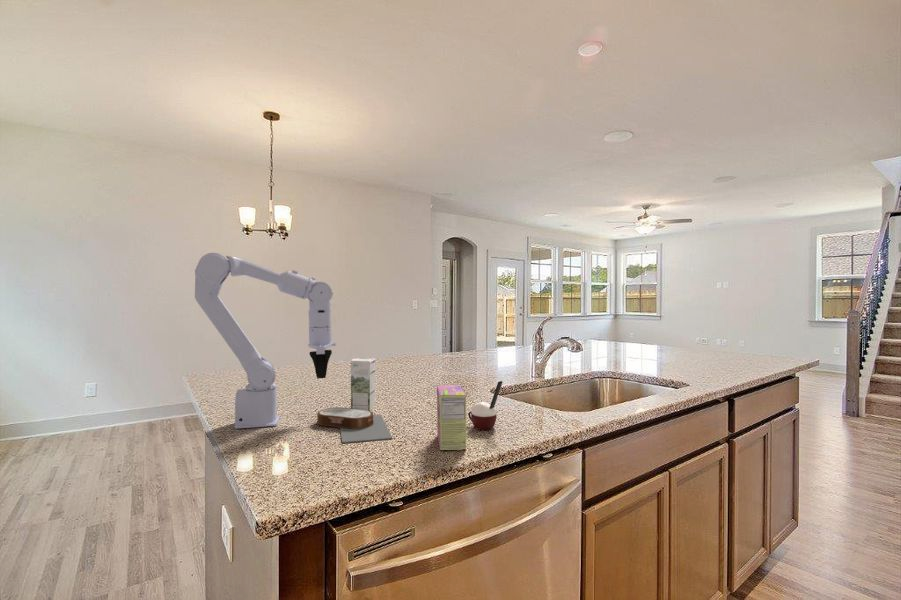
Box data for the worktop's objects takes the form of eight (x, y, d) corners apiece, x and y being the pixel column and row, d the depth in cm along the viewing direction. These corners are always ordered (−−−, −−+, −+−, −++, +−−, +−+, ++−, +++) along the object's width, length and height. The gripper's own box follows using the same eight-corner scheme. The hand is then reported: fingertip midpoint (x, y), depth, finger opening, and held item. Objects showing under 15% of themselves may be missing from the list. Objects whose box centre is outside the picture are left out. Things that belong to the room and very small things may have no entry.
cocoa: (464, 426, 109) (462, 379, 109) (485, 422, 112) (483, 376, 112) (485, 435, 100) (483, 384, 100) (507, 430, 103) (505, 380, 103)
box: (436, 435, 100) (436, 384, 100) (461, 435, 101) (461, 384, 101) (439, 451, 90) (439, 395, 90) (466, 451, 90) (466, 394, 90)
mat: (342, 443, 95) (342, 442, 95) (338, 418, 114) (338, 417, 114) (392, 438, 98) (392, 437, 98) (380, 415, 117) (380, 414, 117)
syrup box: (375, 406, 126) (375, 357, 126) (369, 412, 120) (370, 360, 120) (356, 406, 127) (356, 356, 126) (349, 411, 121) (350, 359, 121)
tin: (362, 430, 103) (379, 423, 111) (363, 416, 103) (380, 410, 111) (309, 424, 107) (329, 417, 115) (310, 411, 108) (329, 405, 116)
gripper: (336, 328, 109) (337, 381, 109) (334, 324, 123) (335, 372, 123) (307, 329, 107) (308, 384, 107) (308, 325, 121) (310, 373, 121)
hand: (321, 377), depth 115 cm, fingers closed
